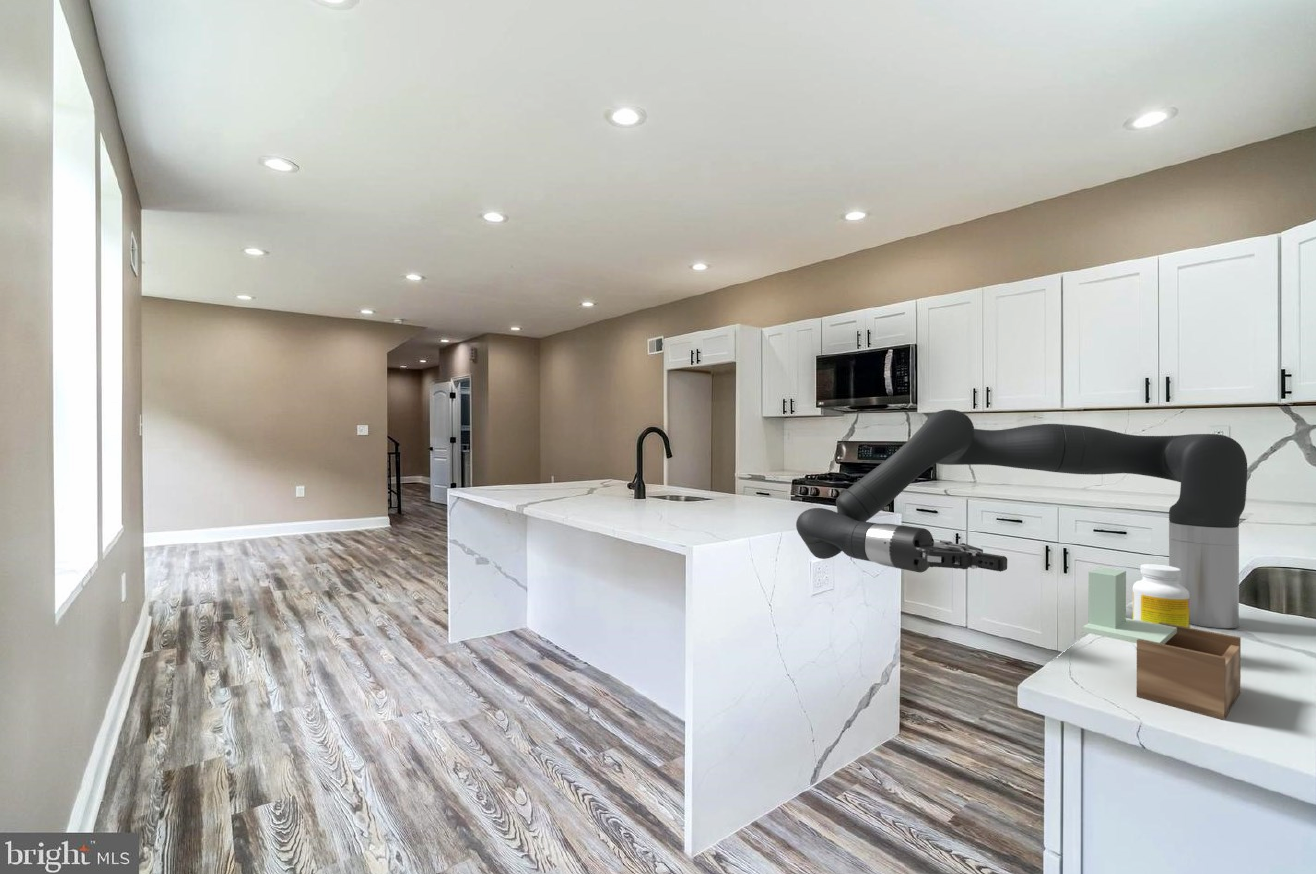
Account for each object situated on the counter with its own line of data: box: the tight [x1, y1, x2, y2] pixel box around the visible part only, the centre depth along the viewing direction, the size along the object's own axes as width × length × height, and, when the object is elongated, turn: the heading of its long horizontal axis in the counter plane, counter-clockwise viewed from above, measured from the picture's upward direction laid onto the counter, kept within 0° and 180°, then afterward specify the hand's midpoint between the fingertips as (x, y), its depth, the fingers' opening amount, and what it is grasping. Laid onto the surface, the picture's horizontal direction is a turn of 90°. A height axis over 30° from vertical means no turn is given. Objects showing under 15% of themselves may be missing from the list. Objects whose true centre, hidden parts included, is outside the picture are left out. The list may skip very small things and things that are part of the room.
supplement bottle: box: [1132, 563, 1190, 649], centre depth 91 cm, size 7×7×13 cm
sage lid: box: [1082, 566, 1177, 644], centre depth 80 cm, size 10×8×8 cm
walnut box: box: [1136, 622, 1242, 721], centre depth 76 cm, size 12×8×7 cm, turn 129°
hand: (1005, 564), depth 92 cm, fingers closed
